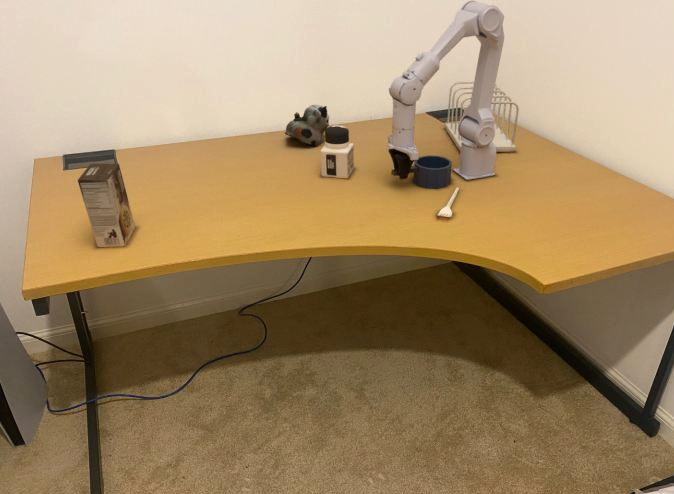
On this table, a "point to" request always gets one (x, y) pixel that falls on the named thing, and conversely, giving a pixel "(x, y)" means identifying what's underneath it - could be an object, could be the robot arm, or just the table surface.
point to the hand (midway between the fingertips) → (401, 176)
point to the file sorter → (500, 138)
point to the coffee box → (107, 204)
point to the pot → (430, 171)
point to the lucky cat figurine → (309, 125)
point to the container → (337, 153)
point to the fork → (448, 206)
